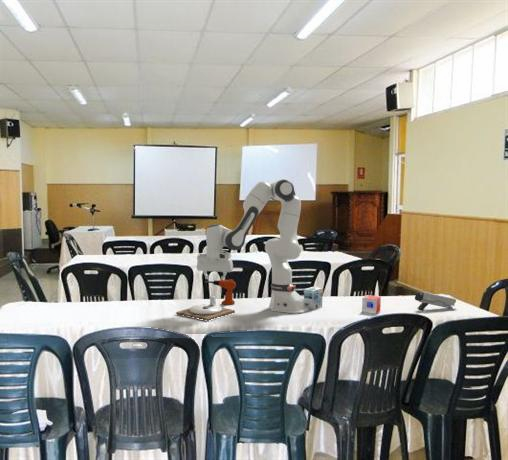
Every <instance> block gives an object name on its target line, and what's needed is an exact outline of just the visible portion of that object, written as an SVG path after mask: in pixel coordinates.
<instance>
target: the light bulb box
mask: <svg viewBox="0 0 508 460" xmlns="http://www.w3.org/2000/svg"><path fill="white" fill-rule="evenodd" d="M323 291H324V290H323V288H322V287H316V286H311V287H307V288H304V289H303V299H304V304H305V307H308V308H309V310H315V309H318V308H322V307H323Z"/></svg>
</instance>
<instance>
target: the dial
mask: <svg viewBox="0 0 508 460" xmlns="http://www.w3.org/2000/svg"><path fill="white" fill-rule="evenodd" d="M189 308H190V312H191V313H194V314H201V315H208V314H216V313H219V312H221V311H222V308H223V307H222V306H220V305H216V296H215V295H211V296H209V304H205V305H203V304H197V305H194V306H190V307H189Z"/></svg>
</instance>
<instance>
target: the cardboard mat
mask: <svg viewBox="0 0 508 460" xmlns="http://www.w3.org/2000/svg"><path fill="white" fill-rule="evenodd" d="M202 305H206V304H202ZM221 308H222V311H221V312H219V313H216V314H208V315H201V314H194V313H191V312H190V307H189V308H186V309H183V310H179V311H176V312H175V315H176V314H177V315H176V316H179V315H184V316H190V317H194V318H199V319H203V320H207V321H208V322H210V321H209V320H211V319H214V318H217V317H221V316H224V317H226V316H225V315H227V316H230V315H233V314H235V312H236V311H235V309H232V308H231V309H230V308H225V307H221ZM232 313H233V314H232ZM229 314H230V315H229ZM184 316H183V317H184ZM221 318H222V317H221ZM203 320H202V321H203ZM214 320H215V319H214ZM207 321H206V322H207ZM211 321H212V320H211Z"/></svg>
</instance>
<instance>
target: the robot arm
mask: <svg viewBox="0 0 508 460" xmlns="http://www.w3.org/2000/svg"><path fill="white" fill-rule="evenodd" d="M269 200H273V201H276V202H277V201H278V202H279V201H280V203H281V210H280V212H279V217H278V222H277V229H278V231H279V238H278V237H275V238H271V239H270V238H269V239H268V240H267V241H266V242H265V245H264V251H265V253H266V254H267V256H268V257H269V261H270V265H271V285H270V288H271V289H270V291H271V295H270V302H269V306H268V309H270V311H271V312H278V313H279V312H280V313H285V314H287V313H288V314H295V315H297V314H298V315H299V314H303V313H306V312H308V311H310V309H309V308H308V307H305V304H304V297H302V296H301V295H300V294H299V293H298V292H297V291H296V289H295V288H296V284H293V282H292V281H293V270H292V267H291V266H290V264H289V261H292V260H298V258H299V257H300V255H301V253H302V248H301V246H300V243H299V241H298V226H299V221H300V216H301V209H302V201H301V198H299V197H298V196H296V192H295V187H294V184H293V183H292V181H291V180H289V179H280V180H276V181H275V182H273V183H270V184H269V183H268V182H266V181H259V182H258V183H256V184H255V186H254V187H253V188H252V189H250V191H249V193H248V194H247V196H246V197H245V198H244V201H243V203H242V207H243V211H244V213H243V217H242V219H241V220H240V222H239V224H238V225H237V226H236V228H235V229H230V228H227V227H225V226H223V225H222V224H220V223H213V224H209V226H207V228H206V235H205V242H206V247H205V251H206V253H198V255H197V256H196V260H197V262H196V269H197V270H198V271H200V272H202V274H203V275H204V278H205V280H209V279H210V276H209V275H208V272H219V273H222V274H223V275H222V276H220V280H226V275H227V273H231V272H232V271H234V264H233V259H232V258H231V257H232V253H230V252H227V251H225V250H223V248H224V247H226V248H228V249H230V250H232V251H238V250H240V249H242V248H243V247H244V245H245V242H246V237H247V235H248V233H249V231H250V229H251V228H252V227H253V224H254V223H255V221H256V219H257V218H258V216H259V214H260V213H261V211H263V209H264V207H265V206H266V204H267V203H268V201H269Z"/></svg>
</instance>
